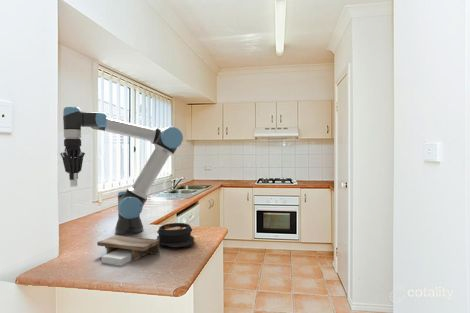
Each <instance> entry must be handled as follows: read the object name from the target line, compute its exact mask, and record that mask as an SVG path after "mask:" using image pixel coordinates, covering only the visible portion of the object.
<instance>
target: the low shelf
mask: <svg viewBox="0 0 470 313" xmlns="http://www.w3.org/2000/svg"><path fill="white" fill-rule="evenodd" d="M97 246H98V247H105V246H106V247H107V248H106V254H108V253H110V252H113V251H115V250H117V249H120V248H122V249H131V250H132V260H131V261H136V260H138V259H140V258H142V257H143V256H145V255H148V254H154V255H155V254H156V255H159V254H160V244H159V240H157V238H144V237H135V236H134V237H133V236H128V235H127V236H125V235H118V234H116V235H112V236H109V237H107V238H104V239H102V240H99V241H97Z"/></svg>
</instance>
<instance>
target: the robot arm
mask: <svg viewBox="0 0 470 313" xmlns="http://www.w3.org/2000/svg"><path fill="white" fill-rule="evenodd" d="M62 113H63V114H62V115H63V116H62V118H63V119H62V120H63V138H64V139H63V146H64V151H63V152H60V153H59V154H60V156H61V158H62V162H63V163H62V164H63V166H64V171H65V172H66V173H67V174H69V176H68V177H69V178H68V179H69V182H70V183H69V184H70V186H69V187H78V178H79V173H80V172H81V171H82V168H83V163H84V157H85V154H86V153H85V152H83V151H82V149H81V147H82V128H83V127H87V128H91V129H93V130H98V131H103V132H107V133H111V134H117V135H120V136H126V137H129V138H134V139H137V140H143V141H146V142H150V144H152V145H153V146H154V150H153V152H152V153H151V155H150V156H149V158H148V160H146V163H145V165H144V166H143V168H142V169H141V171H140V173H139V175H138V176H137V178H136V179H135V181H134V183H133V184H132V186H131V187H128V188H126V190H123V191H122V190H121V191H118V192H117V193H118V194H117V213H118V215H117V216H118V218H117V222H116V225H115V229H114V231H115V232H114V233H115V234H116V235H133V234H138V233H140V232H143V231H144V225H143V222H142V219H141V213H142V212H143V209H144V208H143V207H144V206H145V204H146V203H147V201H148V193H149V192H150V189H151V188H152V186H153V185H154V183H155V181H156V179H157V177H158V176H159V174H160V172H161V171H162V169H163V167H164V166H165V165H166V163H167V160H168V159H169V157H171V156H173V155H174V154H175V152H176V151H177V149H178V148H179V147H180V146H181V145H182V143H183V141H184V136H183V133H182V131H181V130H180V129H179V128H178V127H176V126H167V127H165V128H160V127H159V128H158V127H154V128H151V127H148V126H144V125H138V124H135V123H131V122H125V121H122V120H117V119H113V118H111V117H110V118H109V117H107V113H106V112H103V111H102V112H100V111H95V112H94V111H82V110H81V108H80V107H77V106H65V107H64V108H63V112H62Z"/></svg>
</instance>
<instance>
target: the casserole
mask: <svg viewBox="0 0 470 313" xmlns="http://www.w3.org/2000/svg"><path fill="white" fill-rule="evenodd" d="M192 231H193V229H192V227H191V225H190V224H189V223H185V222H174V223H173V222H172V223H167V224H162V225H160V226H159V228H158V230H157V232H156V233H157V234H158V235H157V236H156V239H157V240H159V246H160V245H161V246H166V247H169V248H182V247H184V248H185V247H188V246H191V245H194V243H195V237H194V236H193V235H191V233H192Z"/></svg>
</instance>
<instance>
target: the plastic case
mask: <svg viewBox="0 0 470 313" xmlns="http://www.w3.org/2000/svg"><path fill="white" fill-rule="evenodd" d="M131 261H133V260H132V250H131V249H122V248H120V249H117V250H115V251H113V252H110V253H108V254H107V253H106V254H104V255H102V256H101V263H103V264H108V265H114V266H115V265H116V266H123V265H125V264H127V263H129V262H131Z"/></svg>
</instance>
